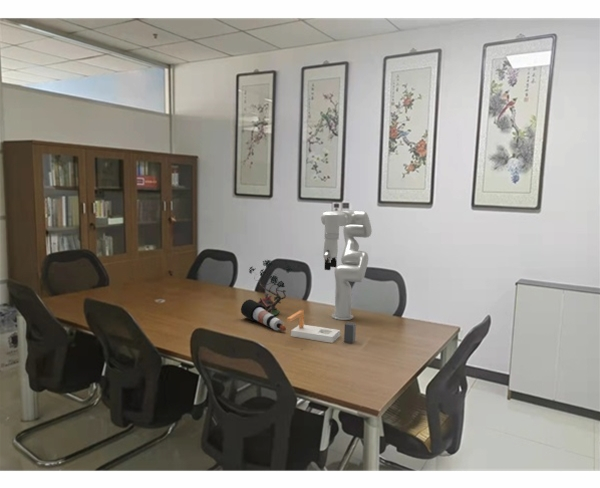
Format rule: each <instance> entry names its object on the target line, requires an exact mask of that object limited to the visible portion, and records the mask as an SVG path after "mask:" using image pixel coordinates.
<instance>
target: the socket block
mask: <svg viewBox="0 0 600 488" xmlns="http://www.w3.org/2000/svg"><path fill="white" fill-rule="evenodd" d="M340 336H341V329H336V328H328V327H324V326H315V325H307V324H304V328H299V324H298V325H296V327H294V328H292V329H291V330H290V337H293V338H300V339H305V340H306V339H307V340H312V341H317V342H324V343H330V344H331V343H332V344H333V343H334V342H335V341H336V340H337V339H338V338H339V337H340Z"/></svg>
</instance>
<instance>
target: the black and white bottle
mask: <svg viewBox="0 0 600 488" xmlns="http://www.w3.org/2000/svg"><path fill="white" fill-rule="evenodd" d="M257 302H258V301H255V300H254V299H246V300H245V301H243V303H242V305H241V308H240V312H241V315H242V316H244V317H246V318H247V319H249V320H250V321H252V322H254V323H258V322H259V323H261V324H262V325H264V326H266V327H269V328H270V329H273V330H274V331H280V330H282V331H283V332H284V331H286V330H287V327H286V326H285V325H284V323H283V322H284V321H282V320H281V319H280V318H278V317H276V315H272V314H271V313H269V312H267V311H266V310H265V307H264V306H262V305H261V304H259V303H257Z"/></svg>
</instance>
